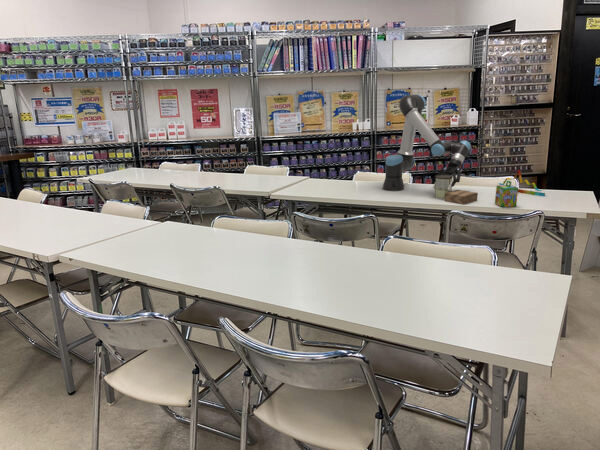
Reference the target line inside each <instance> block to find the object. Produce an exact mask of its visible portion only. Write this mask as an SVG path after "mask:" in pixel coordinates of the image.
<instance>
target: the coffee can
mask: <svg viewBox="0 0 600 450" xmlns="http://www.w3.org/2000/svg"><path fill="white" fill-rule="evenodd" d="M436 175H437V174H436ZM436 175H435V176H436ZM435 180H436V188H435V189H434V191H435V192H434V198H435V199H438V200H445V193H447V192H451V191H453V188H452V189H451V191H449V190H448V187H449V185H450V183H451V181H453V175H452V174H448V175H437V176H436V179H435Z"/></svg>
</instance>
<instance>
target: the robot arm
mask: <svg viewBox="0 0 600 450" xmlns="http://www.w3.org/2000/svg"><path fill="white" fill-rule="evenodd" d="M398 103H399V104H398V107H399V110H400V112H401V114H402V115H403V116H404V125H403V131H402V137H401V142H400V147H399V149H398V151H397V152H396V154H393V155H392V154H391V155H388V156H386V158H385V176H384V177H385V179H384V181H383V184H382V189H383V190H386V191H391V192H392V191H393V192H395V191H397V192H398V191H403V190H405V183H404V180H403V173H404V172H409V170H412V169H413V168H414V166H415V164H416V160H415V159H416V158H415V157H414V154H415V153H414V152H413V148H414V143H415V138H416V131H417V132H418V133H419V134H420V135H421V137H422V138H423V139H424V141H425V142H426V143H427V145H428V146H429V147H430V151H431V154H432V155H433V156H435V157H438V156H439V157H440V156H442V155H447V154H451V155H452V156H451V159H450V160H449V162H448V166H446V167H445V166H442V168H441V169H440V170H439V171H438V172H437V174H435V176H433V178H434V180H435V181H434V184H433V185H432V188H433V190H435V188H436V176H437V175H452V176H453V177H452V181H451V183H450V185H449V187H448V190H449V191H451V189H452V190H453V187H455V185H456V183H460V181H461V176H462V173H463V169H462V168H461V166H462V164H463V162H464V161H465V159H466V157H467V155H468V153H469V152H470V150H471V147H472V144H471V143H470V142H469V141H467V140H461V141H460V142H459V143H458V142H454V141H448V140H441V139H440V138H439V137H438V135H437V134H436V132H434V130H433V129H432V127H431V126H430V125H429V124H428V122H427V121H426V120H425V119H424V117H423V116H422V112H423V110H424V109H425V107H426V99H425V98H424V96H422V95H420V94H416V93H415V94H407V95H403V96H402V97H401V98H400V100H399V102H398Z"/></svg>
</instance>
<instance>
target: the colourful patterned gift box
mask: <svg viewBox="0 0 600 450" xmlns="http://www.w3.org/2000/svg"><path fill="white" fill-rule="evenodd" d="M518 189H519V187H517V186H515V185H512V181H511V180H508V179H507V181H506V182H505V184H504V185H499V184H497V185H496V188H495V197H494V198H495V199H494V204H495V205H497V206H499V207H500V208H510V207H511V208H516V207H517V203H518V194H519V193H518Z"/></svg>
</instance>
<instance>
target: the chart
mask: <svg viewBox="0 0 600 450" xmlns="http://www.w3.org/2000/svg"><path fill="white" fill-rule="evenodd" d="M517 176H518V178H519V182H520V184H522V183H524V182H525V184H527V186H531V185H532V187H533V188H534V190H535V191H533V190H527V189H522V188H521V189H520V188H518V194H525V195H532V196H537V197H546V192H542V191H545V190H546V188H544V189H539V188H538V187H537V185H536V183H535V182H532V183H530V182H529V181H528V179H524V180H523V177H522V172H521V170H520V169H518V170H517V171H516V173H515V174H514V176H513V178H510V177H506V178H505V179H504V180H503V182H502V183H501V182H499V183H498V185H506V183H507V180H508V181H511V180H515V179H517Z"/></svg>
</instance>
